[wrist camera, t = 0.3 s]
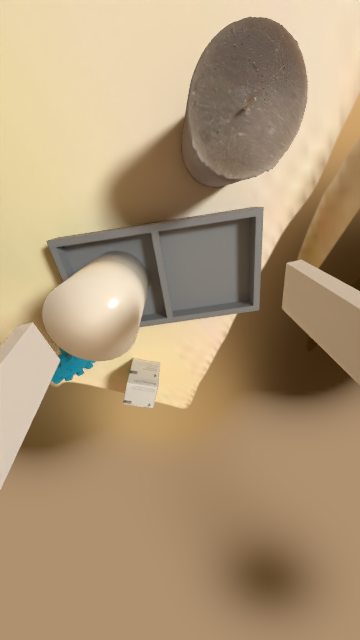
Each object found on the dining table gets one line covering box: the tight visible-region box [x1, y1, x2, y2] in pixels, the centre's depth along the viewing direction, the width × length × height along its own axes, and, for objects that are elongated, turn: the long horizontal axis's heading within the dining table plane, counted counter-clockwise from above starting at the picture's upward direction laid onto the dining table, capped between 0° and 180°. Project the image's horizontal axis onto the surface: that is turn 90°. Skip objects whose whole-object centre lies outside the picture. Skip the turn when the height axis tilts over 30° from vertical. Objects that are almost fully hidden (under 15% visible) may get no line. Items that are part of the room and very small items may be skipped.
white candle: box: [42, 251, 149, 361], centre depth 30 cm, size 10×10×15 cm
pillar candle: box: [181, 17, 307, 187], centre depth 23 cm, size 10×10×15 cm
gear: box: [51, 348, 96, 384], centre depth 42 cm, size 11×6×10 cm
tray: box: [46, 207, 264, 327], centre depth 35 cm, size 16×31×4 cm, turn 98°
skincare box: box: [123, 358, 160, 408], centre depth 44 cm, size 6×6×7 cm
